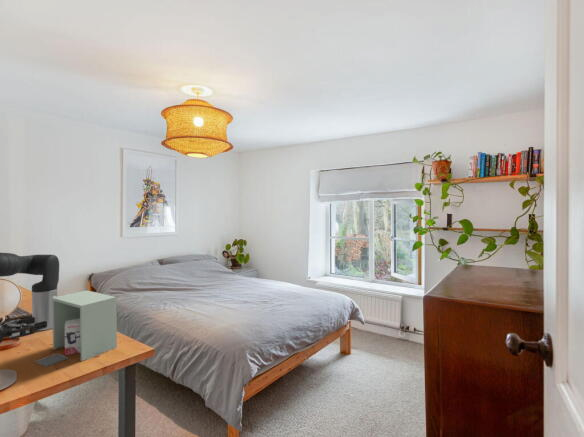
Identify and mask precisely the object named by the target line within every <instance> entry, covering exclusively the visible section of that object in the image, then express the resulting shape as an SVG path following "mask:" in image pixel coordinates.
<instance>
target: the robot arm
mask: <svg viewBox="0 0 584 437" xmlns="http://www.w3.org/2000/svg"><path fill="white" fill-rule="evenodd" d="M17 274H23V275H24V274H25V275H32V276H42V279H41V281H39V282H35V283H34V284H32V286H31V307H32V308H31V314H32V315H31V317H27V318H23V319H20V318H18V319H16V318H12V319H7V320H5V321H0V344H1V343H2V342H3V340H4V338H11V340H15V339H19V338H23V337H27V336H29V335H30V336H31V335H34V334H35V332H37V331H39V332H40V331H41V332H42V331H48V330H51V329H53V321H52V298H54V297H58V284H59V280H60V260H59V258H58V256H57V255H55V254H30V255H18V254H16V253H11V252H0V277H10V276H14V275H17Z"/></svg>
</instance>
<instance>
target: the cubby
mask: <svg viewBox="0 0 584 437" xmlns="http://www.w3.org/2000/svg"><path fill="white" fill-rule="evenodd" d="M117 314H118V313H117V297H116V296H112V295H109V294H105V293H99V292H96V291H91V290H84V291H83V290H82V291H78V292H73V293H68V294H64V295H60V296H57V297H54V298H52V321H53V328H52V349H53V350H57V349H60V348H63V347H65V321H67V320H73V319H80V345H81V352H80V361H81V362H83V361H87V360H89V359H91V358H94V357H96V356H99V355H101V354H103V353H106V352H108V351H112V350H115V349H116V348H118V336H117V334H118V331H117V328H118V326H117V324H118V323H117V320H118V319H117V317H118V316H117Z"/></svg>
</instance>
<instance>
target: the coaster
mask: <svg viewBox="0 0 584 437" xmlns="http://www.w3.org/2000/svg"><path fill="white" fill-rule="evenodd" d="M68 358H69V357H67V356H66V355H63V354H60V353H58V352H57V353H55V354H51V355H48V356H46V357H43V358H40V359H37V360H35V363H37V364H39V365H41V366H42V367H46V368H47V367H49V366H51V365H54V364H57V363H60V362H63V361H65V360H68Z"/></svg>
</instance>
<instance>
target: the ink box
mask: <svg viewBox="0 0 584 437" xmlns="http://www.w3.org/2000/svg"><path fill="white" fill-rule="evenodd" d="M75 354H81V345H80V319H73V320H67V321H65V346H64V356H70V355H75Z"/></svg>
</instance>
